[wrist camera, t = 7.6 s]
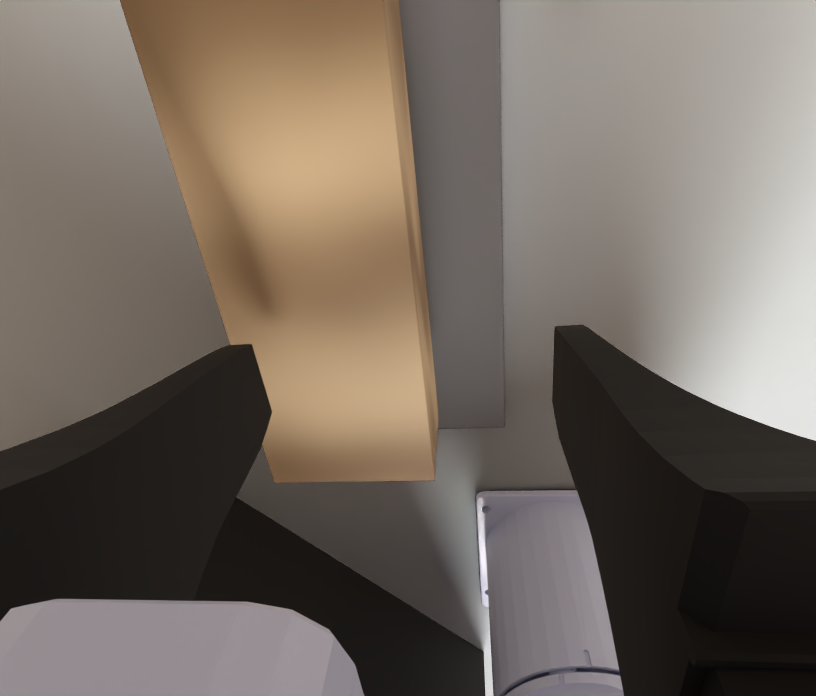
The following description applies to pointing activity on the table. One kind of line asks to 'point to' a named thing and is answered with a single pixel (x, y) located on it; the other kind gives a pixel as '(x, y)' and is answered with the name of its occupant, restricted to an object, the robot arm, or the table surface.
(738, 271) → the table surface
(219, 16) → the shelf board
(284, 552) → the binder
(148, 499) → the robot arm
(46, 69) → the table surface
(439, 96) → the peg stand
